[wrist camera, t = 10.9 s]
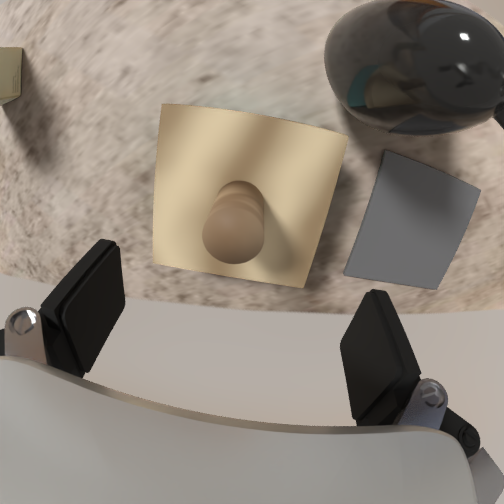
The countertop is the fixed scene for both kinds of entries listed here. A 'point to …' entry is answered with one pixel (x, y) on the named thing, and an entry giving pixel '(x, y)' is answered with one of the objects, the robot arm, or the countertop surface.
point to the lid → (242, 193)
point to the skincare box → (10, 73)
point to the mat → (411, 224)
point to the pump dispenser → (417, 67)
